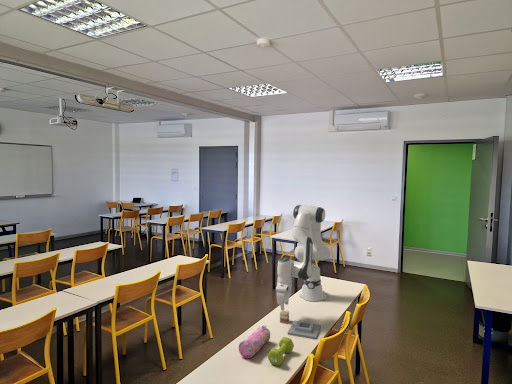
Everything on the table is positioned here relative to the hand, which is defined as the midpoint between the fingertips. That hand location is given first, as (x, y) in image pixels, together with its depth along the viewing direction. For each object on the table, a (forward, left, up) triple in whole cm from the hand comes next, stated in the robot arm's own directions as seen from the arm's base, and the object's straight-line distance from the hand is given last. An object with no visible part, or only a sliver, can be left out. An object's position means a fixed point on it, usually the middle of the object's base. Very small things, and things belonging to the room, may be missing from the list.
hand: (284, 307), depth 199 cm
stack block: (-1, 0, -10) cm, 9 cm away
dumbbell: (+38, +9, -10) cm, 40 cm away
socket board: (+6, +14, -9) cm, 18 cm away
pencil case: (+35, -6, -10) cm, 36 cm away
